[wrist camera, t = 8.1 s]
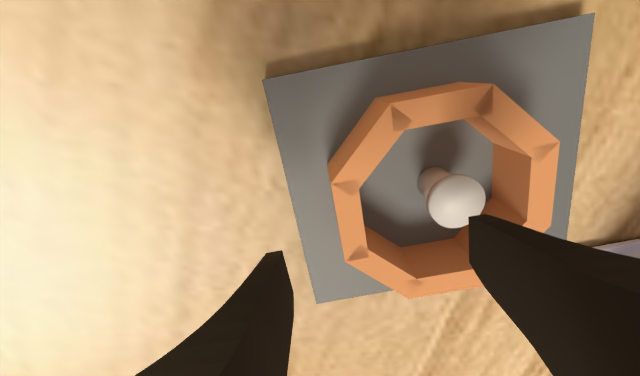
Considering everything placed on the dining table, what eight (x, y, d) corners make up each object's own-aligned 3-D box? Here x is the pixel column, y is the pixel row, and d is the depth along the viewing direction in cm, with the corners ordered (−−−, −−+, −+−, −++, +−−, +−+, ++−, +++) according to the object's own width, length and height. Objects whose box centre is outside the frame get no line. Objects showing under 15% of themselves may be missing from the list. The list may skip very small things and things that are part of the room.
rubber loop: (518, 70, 15) (567, 69, 12) (509, 244, 19) (545, 275, 16) (316, 109, 15) (319, 117, 12) (346, 273, 19) (353, 308, 16)
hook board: (577, 16, 15) (665, -3, 11) (552, 251, 20) (607, 292, 16) (265, 79, 16) (251, 81, 12) (316, 293, 21) (317, 342, 17)
